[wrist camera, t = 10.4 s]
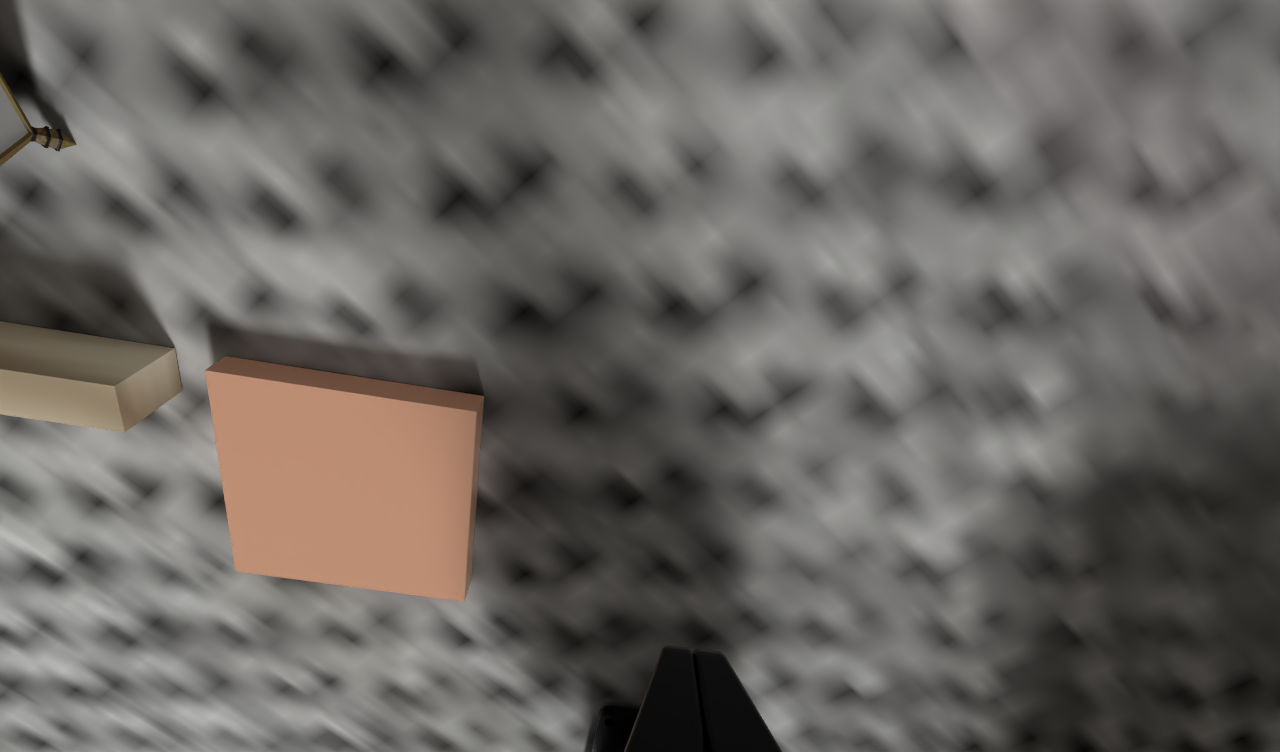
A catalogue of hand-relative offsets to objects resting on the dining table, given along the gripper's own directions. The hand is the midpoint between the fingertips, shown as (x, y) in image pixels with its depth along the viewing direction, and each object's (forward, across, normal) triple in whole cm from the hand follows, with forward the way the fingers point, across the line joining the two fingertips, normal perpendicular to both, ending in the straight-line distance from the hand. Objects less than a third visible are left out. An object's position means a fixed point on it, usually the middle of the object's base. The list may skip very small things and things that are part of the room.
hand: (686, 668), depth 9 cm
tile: (+12, +10, +7) cm, 17 cm away
